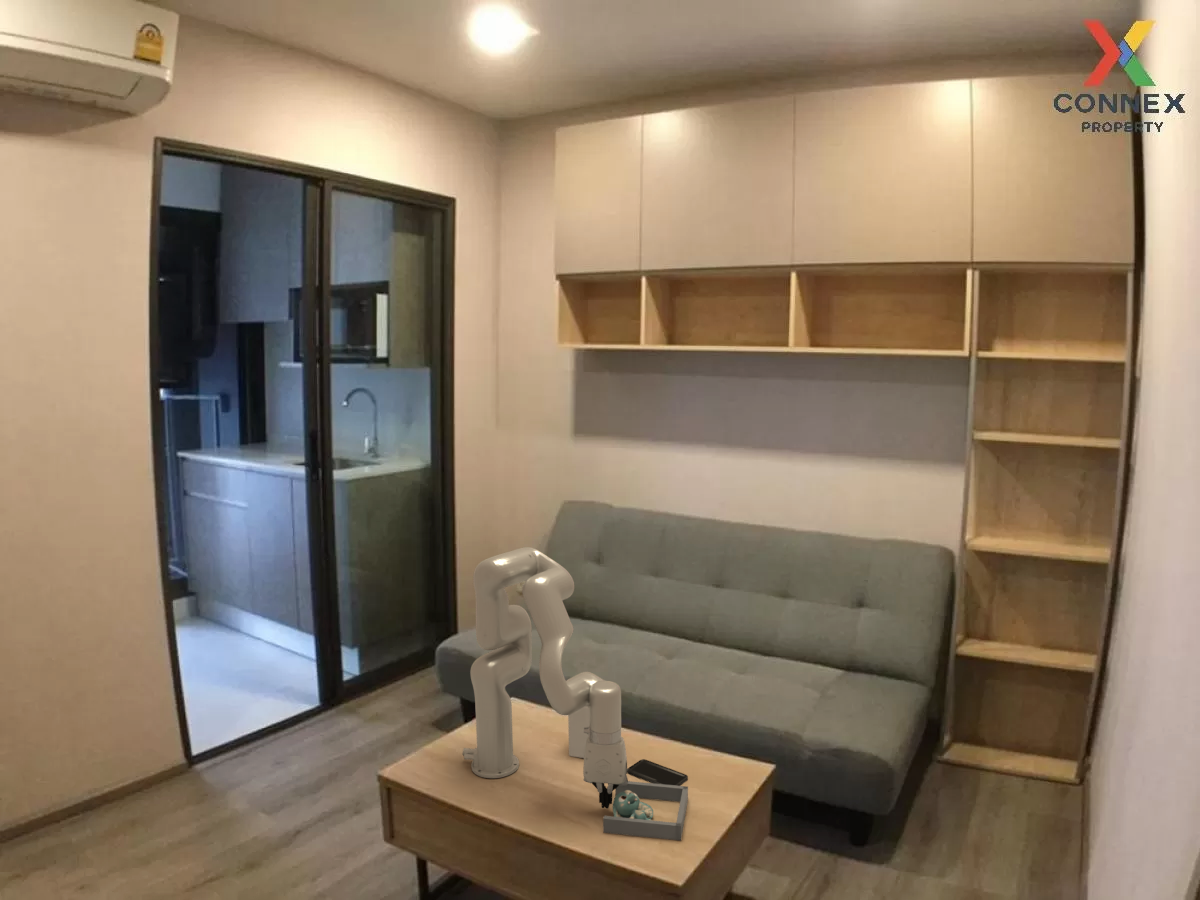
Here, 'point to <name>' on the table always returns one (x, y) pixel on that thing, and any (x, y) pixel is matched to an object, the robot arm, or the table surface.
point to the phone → (656, 773)
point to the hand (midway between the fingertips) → (605, 805)
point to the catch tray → (649, 826)
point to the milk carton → (578, 731)
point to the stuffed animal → (631, 806)
